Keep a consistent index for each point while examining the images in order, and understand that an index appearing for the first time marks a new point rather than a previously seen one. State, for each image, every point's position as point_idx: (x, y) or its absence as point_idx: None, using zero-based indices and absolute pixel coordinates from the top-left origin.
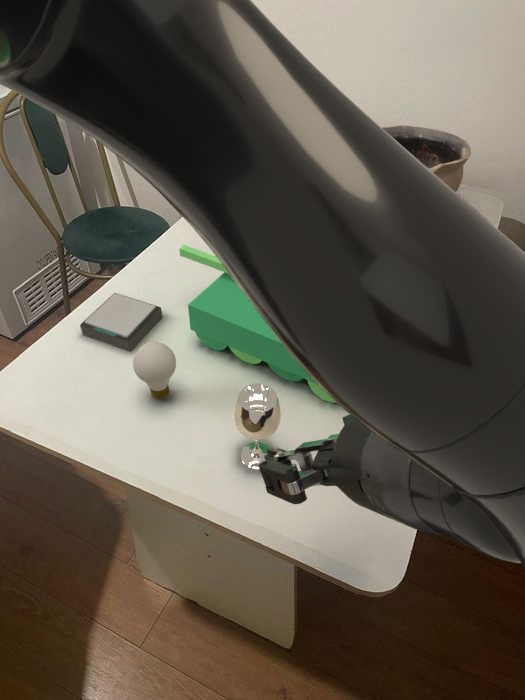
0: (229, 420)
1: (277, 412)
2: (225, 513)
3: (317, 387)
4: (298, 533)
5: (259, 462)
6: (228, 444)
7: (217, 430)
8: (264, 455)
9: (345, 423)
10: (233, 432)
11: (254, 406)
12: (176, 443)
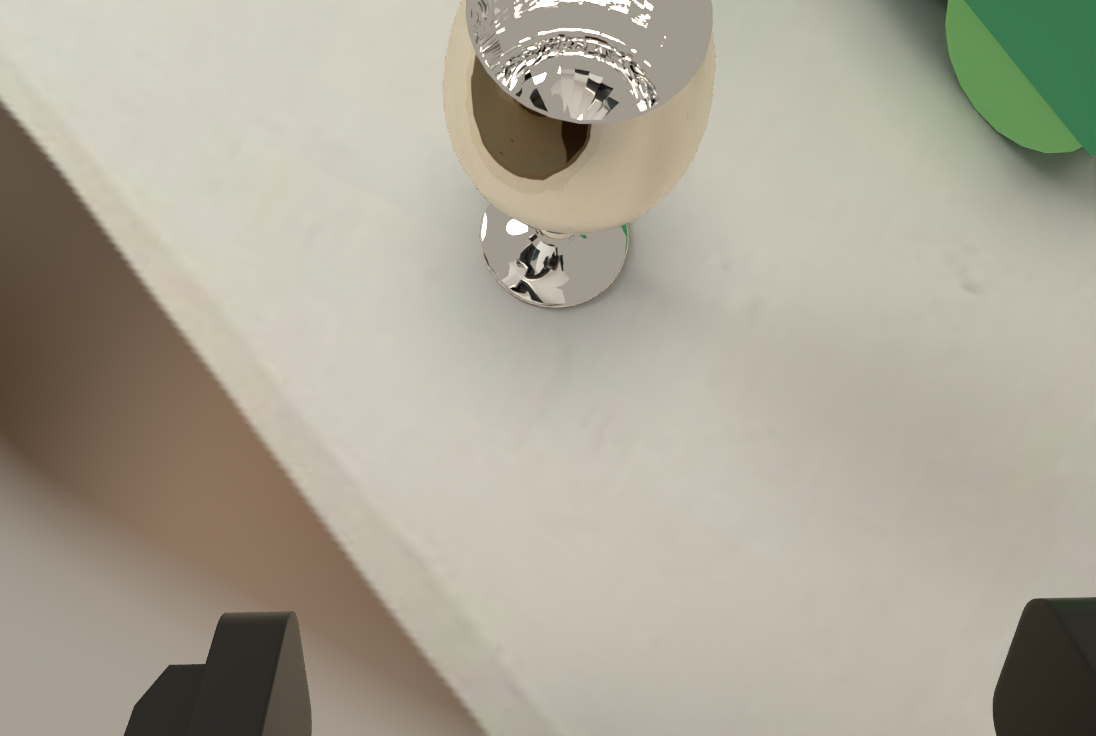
0: None
1: (667, 146)
2: (302, 430)
3: (979, 40)
4: (544, 655)
5: (545, 274)
6: None
7: None
8: (171, 666)
9: (1032, 652)
10: None
11: (602, 30)
12: (259, 30)
